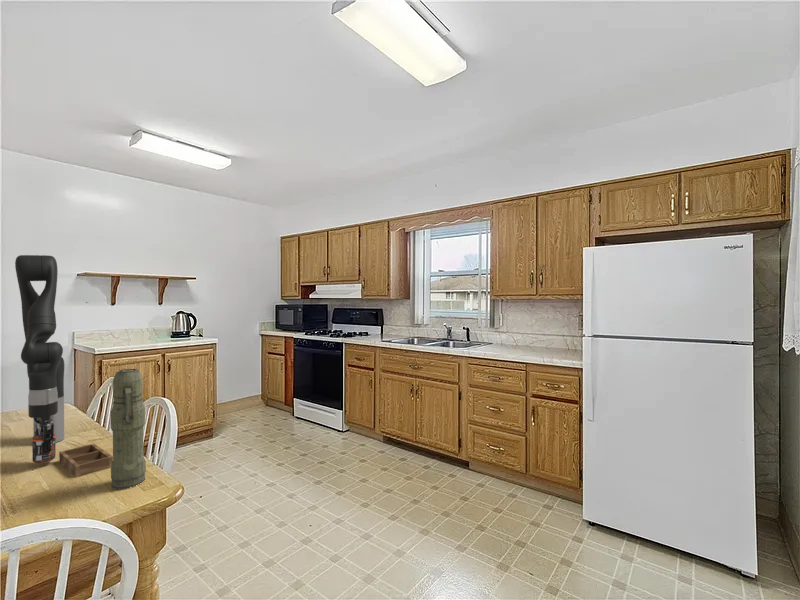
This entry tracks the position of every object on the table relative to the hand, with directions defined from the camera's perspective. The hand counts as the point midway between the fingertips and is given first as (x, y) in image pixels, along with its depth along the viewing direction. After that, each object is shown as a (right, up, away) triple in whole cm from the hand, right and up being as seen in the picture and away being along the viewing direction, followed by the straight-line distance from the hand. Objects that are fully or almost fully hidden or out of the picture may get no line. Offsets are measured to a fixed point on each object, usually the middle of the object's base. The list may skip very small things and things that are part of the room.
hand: (44, 449), depth 138 cm
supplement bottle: (0, -4, 0) cm, 4 cm away
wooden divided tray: (+14, -5, 0) cm, 15 cm away
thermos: (+37, -6, -13) cm, 40 cm away
